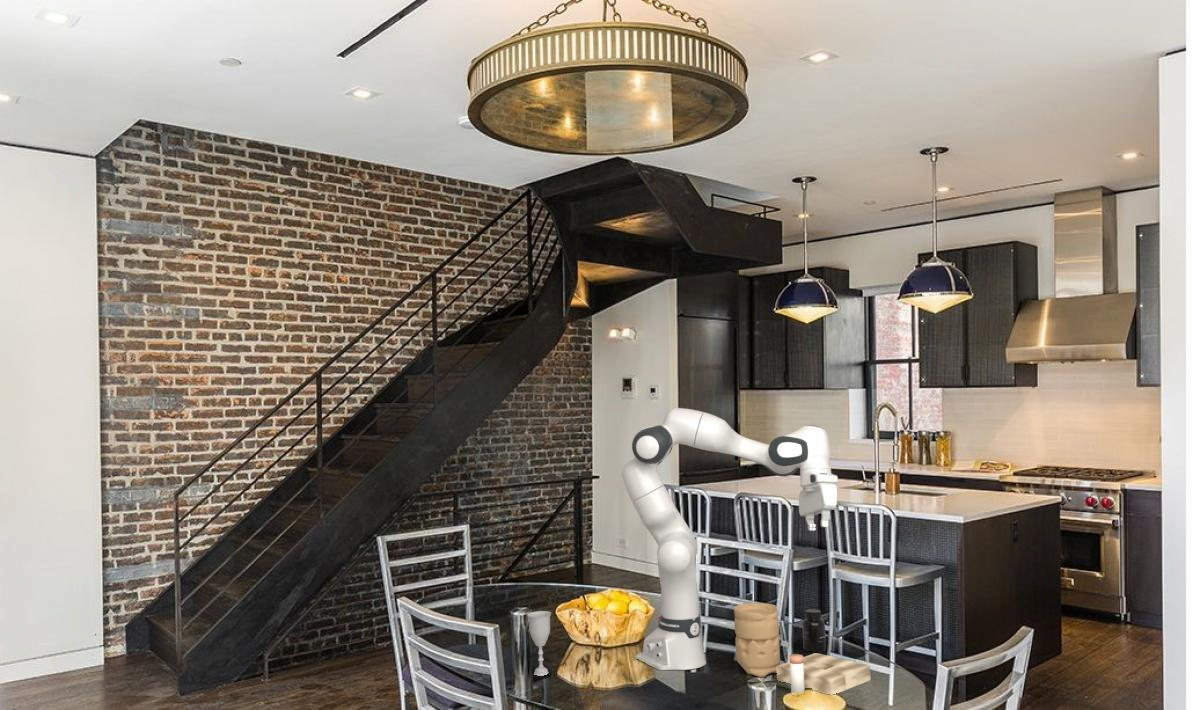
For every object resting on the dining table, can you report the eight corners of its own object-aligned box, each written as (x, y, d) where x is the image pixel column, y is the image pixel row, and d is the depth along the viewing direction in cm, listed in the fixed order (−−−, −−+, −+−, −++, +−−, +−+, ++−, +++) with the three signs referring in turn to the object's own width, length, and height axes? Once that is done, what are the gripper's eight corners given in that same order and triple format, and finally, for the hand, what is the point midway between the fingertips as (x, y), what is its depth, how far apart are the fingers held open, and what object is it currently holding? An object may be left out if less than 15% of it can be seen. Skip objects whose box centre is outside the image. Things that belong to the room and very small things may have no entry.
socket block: (777, 681, 249) (776, 666, 249) (816, 666, 260) (815, 652, 261) (831, 695, 235) (830, 680, 235) (870, 680, 247) (869, 665, 247)
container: (789, 669, 259) (786, 606, 260) (764, 680, 250) (761, 614, 251) (753, 661, 268) (750, 600, 269) (727, 671, 259) (725, 608, 260)
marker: (788, 694, 237) (786, 656, 238) (796, 691, 240) (794, 653, 240) (799, 697, 235) (797, 658, 235) (807, 694, 237) (805, 655, 238)
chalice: (543, 671, 266) (541, 610, 267) (558, 675, 261) (556, 613, 262) (524, 677, 261) (522, 614, 262) (539, 681, 256) (537, 618, 257)
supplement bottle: (826, 653, 274) (824, 613, 274) (803, 652, 275) (801, 613, 276) (825, 647, 280) (823, 608, 281) (803, 646, 282) (801, 608, 282)
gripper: (792, 485, 270) (794, 532, 266) (818, 474, 251) (821, 524, 247) (812, 486, 271) (814, 533, 267) (840, 475, 252) (842, 525, 248)
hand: (818, 528), depth 257 cm, fingers open, 8 cm apart
